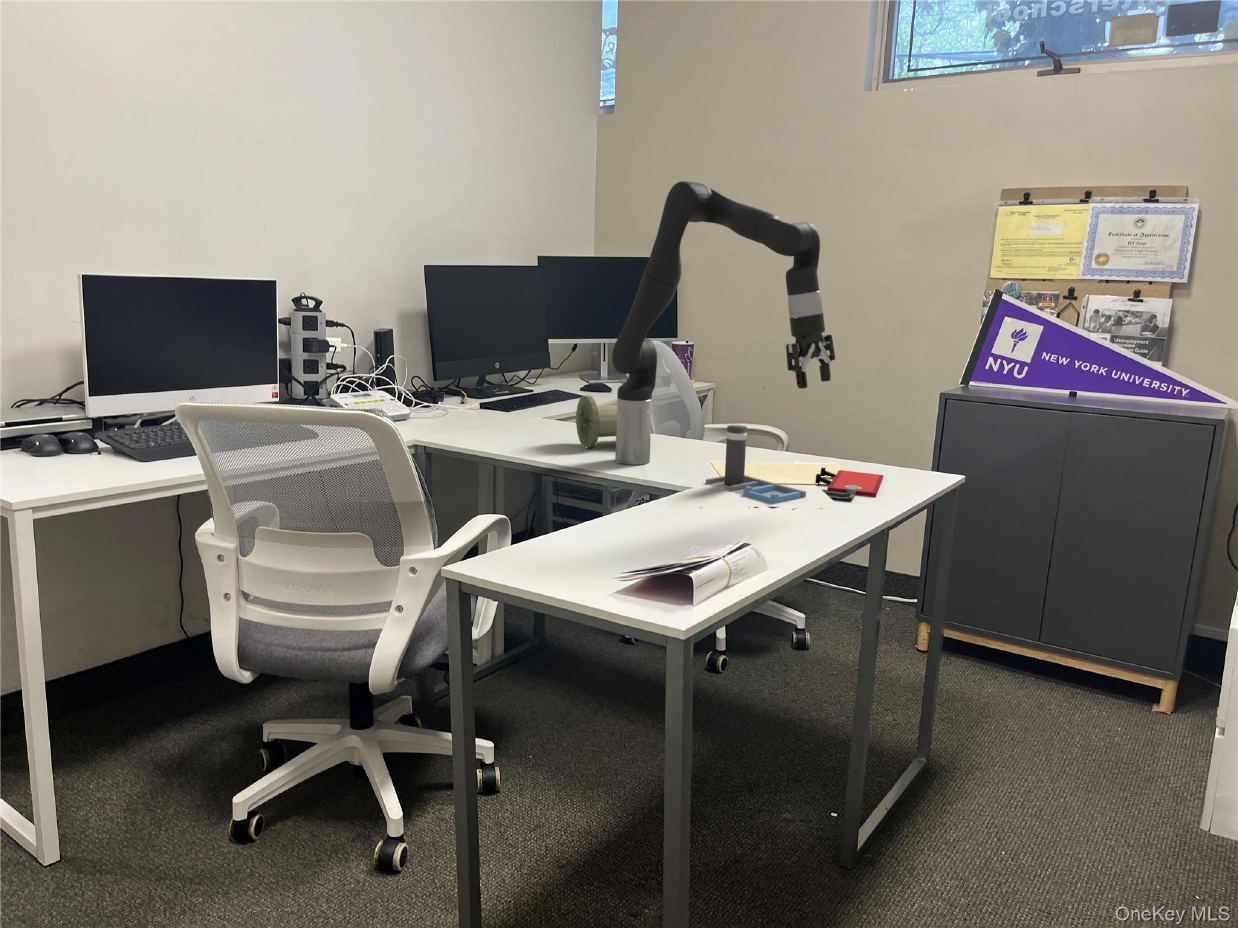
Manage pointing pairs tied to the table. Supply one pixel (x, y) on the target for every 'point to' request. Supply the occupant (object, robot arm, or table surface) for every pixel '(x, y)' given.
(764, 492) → the blue and grey tray
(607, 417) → the spool
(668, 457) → the table surface
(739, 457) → the banded grey cylinder
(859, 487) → the red board with handle
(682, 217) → the robot arm
